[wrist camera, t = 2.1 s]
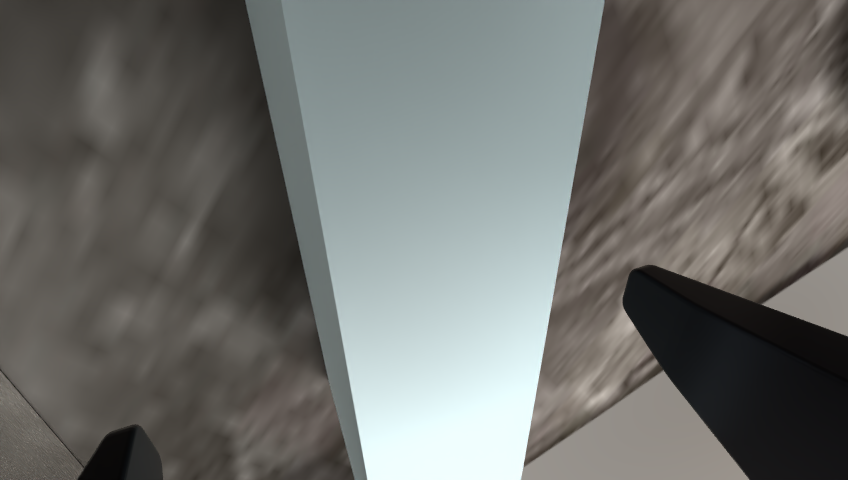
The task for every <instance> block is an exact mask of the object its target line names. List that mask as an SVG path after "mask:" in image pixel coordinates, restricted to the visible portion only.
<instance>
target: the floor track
mask: <svg viewBox="0 0 848 480" xmlns="http://www.w3.org/2000/svg"><path fill="white" fill-rule="evenodd" d="M83 469H84V468H83V467H82V465H81V464H80V463H79V462H78V461H77V460H76V458H75V457H74V456H73V455H72V454H71V453H70V451H69V450H68V449H67V448H66V447H65V446H64V444H63V443H62V442H61V441H60V440H59V439H58V437H57V436H56V435H55V434H54V433H53V432H52V430H51V429H50V428H49V427H48V426H47V425H46V423H45V422H44V421H43V420H42V419H41V418H40V416H39V415H38V414H37V413H36V412H35V411H34V409H33V408H32V407H31V406H30V405H29V404H28V402H27V401H26V400H25V399H24V398H23V397H22V395H21V394H20V393H19V392H18V391H17V390H16V388H15V387H14V386H13V385H12V384H11V383H10V381H9V380H8V379H7V378H6V377H5V376H4V374H3V373H2V372H1V371H0V480H77V479H78V477H79V475H80V474H81V472H82V471H83Z"/></svg>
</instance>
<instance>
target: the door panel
mask: <svg viewBox="0 0 848 480" xmlns="http://www.w3.org/2000/svg"><path fill="white" fill-rule="evenodd" d="M604 2H605V0H245V3H246V7H247V12H248V16H249V21H250V25H251V30H252V34H253V39H254V44H255V48H256V53H257V57H258V62H259V66H260V71H261V75H262V80H263V85H264V89H265V94H266V98H267V103H268V107H269V112H270V116H271V121H272V125H273V130H274V135H275V139H276V144H277V148H278V153H279V157H280V162H281V166H282V171H283V175H284V180H285V185H286V189H287V194H288V198H289V203H290V207H291V212H292V216H293V221H294V225H295V230H296V235H297V239H298V244H299V248H300V253H301V257H302V262H303V266H304V271H305V276H306V280H307V285H308V289H309V294H310V298H311V303H312V307H313V312H314V316H315V321H316V326H317V330H318V335H319V339H320V344H321V348H322V353H323V357H324V362H325V366H326V371H327V376H328V380H329V384H330V388H331V391H332V395H333V399H334V403H335V407H336V410H337V414H338V418H339V422H340V425H341V429H342V433H343V437H344V440H345V444H346V448H347V452H348V456H349V459H350V463H351V467H352V471H353V474H354V478H355V480H521V475H522V470H523V464H524V458H525V453H526V447H527V441H528V436H529V430H530V424H531V419H532V413H533V407H534V401H535V396H536V390H537V384H538V379H539V373H540V367H541V361H542V356H543V350H544V344H545V339H546V333H547V327H548V321H549V316H550V310H551V304H552V299H553V293H554V287H555V282H556V276H557V270H558V264H559V259H560V253H561V247H562V242H563V236H564V230H565V224H566V219H567V213H568V207H569V202H570V196H571V190H572V184H573V179H574V173H575V167H576V162H577V156H578V150H579V145H580V139H581V133H582V127H583V122H584V116H585V110H586V105H587V99H588V93H589V87H590V82H591V76H592V70H593V65H594V59H595V53H596V47H597V42H598V36H599V30H600V25H601V19H602V13H603V8H604Z"/></svg>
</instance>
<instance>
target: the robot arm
mask: <svg viewBox="0 0 848 480" xmlns="http://www.w3.org/2000/svg"><path fill="white" fill-rule="evenodd" d="M623 307H624V309H625V311H626V313H627V315H628V316H629V318H630V319H631V321H632V322H633V324H634V326H635V327H636V329H637V330H638V332H639V333H640V335H641V336H642V338H643V339H644V341H645V343H646V344H647V346H648V347H649V349H650V350H651V352H652V353H653V355H654V357H655V358H656V360H657V361H658V363H659V364H660V366H661V367H662V369H663V370H664V372H665V373H666V374H667V375H668V377H669V378H670V380H671V381H672V382H673V384H674V385H675V386H676V387H677V389H678V390H679V391H680V393H681V394H682V395H683V396H684V397H685V399H686V400H687V401H688V403H689V404H690V405H691V406H692V408H693V409H694V410H695V412H696V413H697V414H698V415H699V417H700V418H701V419H702V420H703V422H704V423H705V424H706V425H707V426H708V428H709V429H710V430H711V432H712V433H713V434H714V436H715V437H716V438H717V439H718V441H719V442H720V443H721V444H722V446H723V447H724V448H725V449H726V451H727V452H728V453H729V454H730V456H731V457H732V458H733V460H734V461H735V462H736V463H737V465H738V466H739V467H740V468H741V469H742V471H743V472H744V473H745V475H746V476H747V477H748V478H749V480H848V336H845V335H842V334H839V333H837V332H834V331H831V330H829V329H826V328H823V327H821V326H818V325H815V324H812V323H810V322H806V321H804V320H801V319H799V318H796V317H793V316H790V315H788V314H785V313H783V312H780V311H777V310H774V309H771V308H769V307H766V306H763V305H761V304H758V303H755V302H753V301H750V300H747V299H744V298H742V297H739V296H736V295H734V294H731V293H728V292H725V291H723V290H720V289H717V288H714V287H712V286H709V285H706V284H704V283H701V282H698V281H695V280H693V279H690V278H687V277H685V276H682V275H679V274H676V273H674V272H671V271H668V270H665V269H663V268H660V267H657V266H654V265H646V266H643V267H639V268H636V269H634V270H632V271H631V272H630V274H629V277H628V281H627V284H626V288H625V292H624V295H623ZM77 480H163V473H162V463H161V459H160V456H159V453H158V451H157V450H156V448H155V447H154V445H153V444H152V442H151V441H150V439H149V438H148V436H147V434H146V433H145V431H144V430H143V429H142V427H141V426H139V425H136V424H135V425H130V426H127V427H124V428H121V429H117V430H114V431H112V432H110V433H108V434H107V435H106V436H105V437H104V438H103V440H102V441H101V443H100V444H99V446H98V448H97V449H96V451H95V452H94V454H93V455H92V457H91V458H90V460H89V461H88V463H87V465H86V466H85V468H84V469H83V471H82V472H81V474H80V475H79V477H78V479H77Z"/></svg>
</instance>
